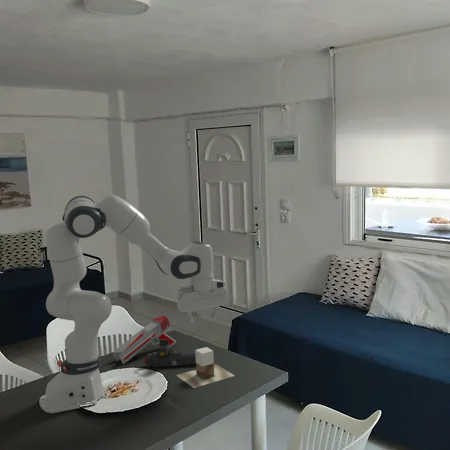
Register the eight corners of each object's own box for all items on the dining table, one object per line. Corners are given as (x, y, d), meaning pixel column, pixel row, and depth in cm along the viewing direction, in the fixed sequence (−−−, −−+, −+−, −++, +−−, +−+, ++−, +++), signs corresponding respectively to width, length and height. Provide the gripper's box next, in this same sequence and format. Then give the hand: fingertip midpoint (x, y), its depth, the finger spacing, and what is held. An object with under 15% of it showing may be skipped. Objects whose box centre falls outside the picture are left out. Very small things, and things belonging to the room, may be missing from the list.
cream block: (202, 366, 194) (201, 353, 194) (195, 362, 198) (195, 349, 198) (213, 363, 197) (213, 350, 196) (207, 359, 201) (206, 347, 200)
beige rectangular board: (194, 390, 188) (193, 387, 188) (176, 377, 199) (176, 375, 199) (235, 378, 197) (234, 375, 197) (215, 366, 209) (215, 364, 209)
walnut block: (203, 379, 195) (202, 366, 194) (196, 374, 199) (196, 362, 198) (214, 375, 198) (213, 363, 197) (207, 371, 202) (207, 359, 201)
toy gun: (123, 378, 222) (110, 350, 216) (170, 339, 238) (159, 312, 233) (132, 383, 217) (119, 354, 211) (180, 343, 233) (168, 315, 228)
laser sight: (200, 370, 206) (199, 346, 205) (143, 372, 206) (142, 348, 204) (200, 361, 216) (199, 338, 215) (146, 363, 215) (145, 340, 214)
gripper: (181, 289, 186) (182, 327, 187) (229, 282, 197) (229, 317, 198) (173, 286, 191) (174, 322, 193) (220, 279, 202) (220, 313, 204)
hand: (203, 320), depth 196 cm, fingers open, 8 cm apart
